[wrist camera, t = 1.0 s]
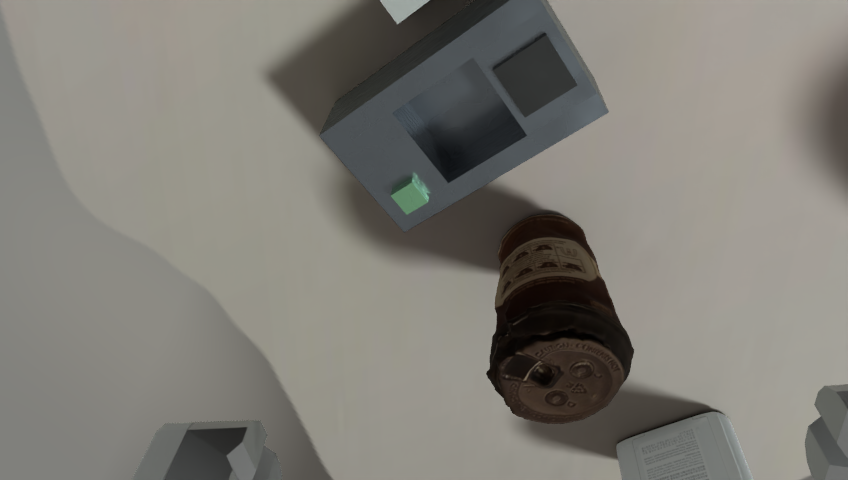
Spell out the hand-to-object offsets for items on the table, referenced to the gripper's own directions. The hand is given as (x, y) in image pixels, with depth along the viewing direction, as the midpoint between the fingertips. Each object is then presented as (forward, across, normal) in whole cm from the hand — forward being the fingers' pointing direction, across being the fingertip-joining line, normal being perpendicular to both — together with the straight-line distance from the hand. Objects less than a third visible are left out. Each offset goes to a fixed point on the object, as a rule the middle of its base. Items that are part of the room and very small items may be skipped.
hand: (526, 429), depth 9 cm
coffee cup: (+31, -2, +19) cm, 37 cm away
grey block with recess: (+31, +2, +6) cm, 32 cm away
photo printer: (+31, -13, +40) cm, 53 cm away
